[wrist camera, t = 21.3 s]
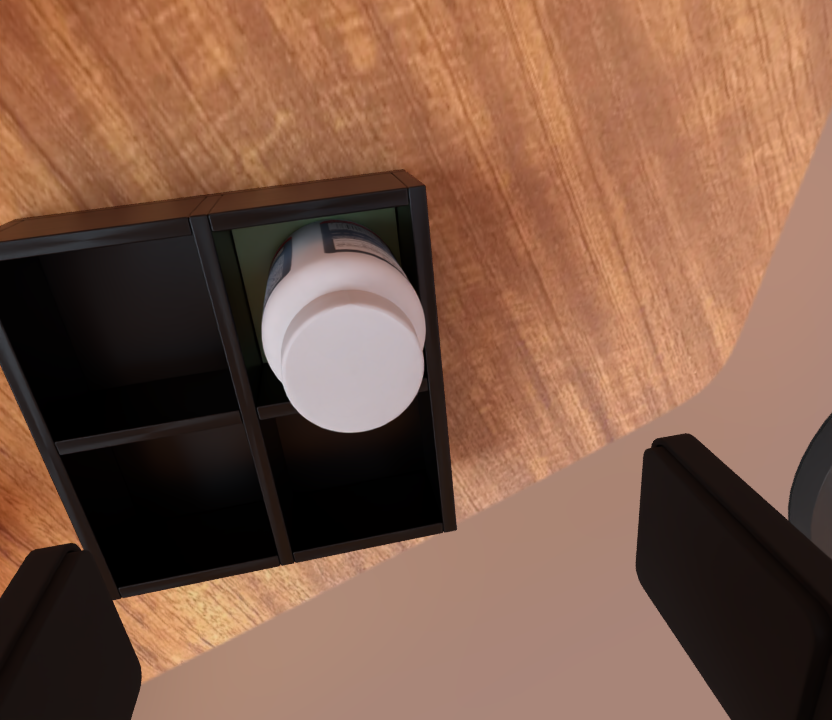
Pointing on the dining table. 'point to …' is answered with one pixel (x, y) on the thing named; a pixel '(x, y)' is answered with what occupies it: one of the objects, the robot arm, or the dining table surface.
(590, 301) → the dining table surface
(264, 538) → the black compartment tray
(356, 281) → the pill bottle
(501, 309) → the dining table surface
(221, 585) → the dining table surface
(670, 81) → the dining table surface
